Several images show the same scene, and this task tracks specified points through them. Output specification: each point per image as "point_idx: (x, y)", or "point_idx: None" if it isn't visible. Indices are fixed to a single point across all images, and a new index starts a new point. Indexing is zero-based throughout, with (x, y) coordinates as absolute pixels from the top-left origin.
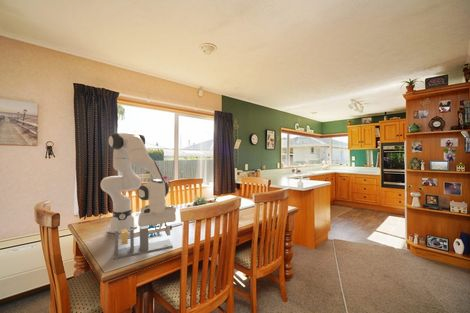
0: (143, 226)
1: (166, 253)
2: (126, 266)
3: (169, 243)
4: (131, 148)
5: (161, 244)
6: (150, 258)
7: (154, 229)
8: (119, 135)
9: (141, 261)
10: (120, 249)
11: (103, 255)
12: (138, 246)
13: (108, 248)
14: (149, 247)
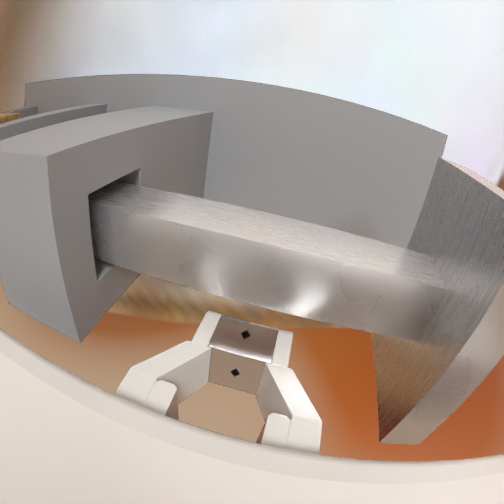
0: (9, 222)
1: (305, 326)
2: None
3: (400, 228)
4: None
5: (333, 196)
6: (198, 314)
7: (204, 289)
8: None
9: (150, 308)
10: (45, 95)
11: (4, 110)
12: (141, 102)
13: (22, 25)
14: (216, 183)
